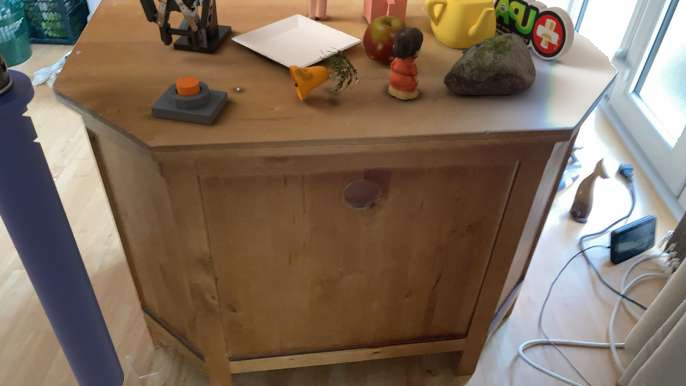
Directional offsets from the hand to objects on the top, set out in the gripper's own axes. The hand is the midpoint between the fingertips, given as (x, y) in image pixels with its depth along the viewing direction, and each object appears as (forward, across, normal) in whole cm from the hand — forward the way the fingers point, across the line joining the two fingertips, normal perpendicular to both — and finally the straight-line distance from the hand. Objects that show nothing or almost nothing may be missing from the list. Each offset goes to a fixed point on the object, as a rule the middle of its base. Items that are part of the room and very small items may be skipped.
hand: (183, 45), depth 105 cm
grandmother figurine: (+3, +20, +27) cm, 34 cm away
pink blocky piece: (+3, +34, +29) cm, 45 cm away
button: (0, +8, -16) cm, 18 cm away
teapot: (+3, +50, +26) cm, 56 cm away
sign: (+3, +65, +26) cm, 70 cm away
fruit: (+3, +37, +11) cm, 39 cm away
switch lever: (-3, 0, +6) cm, 6 cm away
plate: (+3, +19, +11) cm, 22 cm away
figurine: (+3, +42, -2) cm, 42 cm away
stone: (+3, +56, +6) cm, 57 cm away
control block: (+3, +8, -16) cm, 18 cm away
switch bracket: (+3, 0, +9) cm, 10 cm away
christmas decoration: (+3, +24, -9) cm, 26 cm away
